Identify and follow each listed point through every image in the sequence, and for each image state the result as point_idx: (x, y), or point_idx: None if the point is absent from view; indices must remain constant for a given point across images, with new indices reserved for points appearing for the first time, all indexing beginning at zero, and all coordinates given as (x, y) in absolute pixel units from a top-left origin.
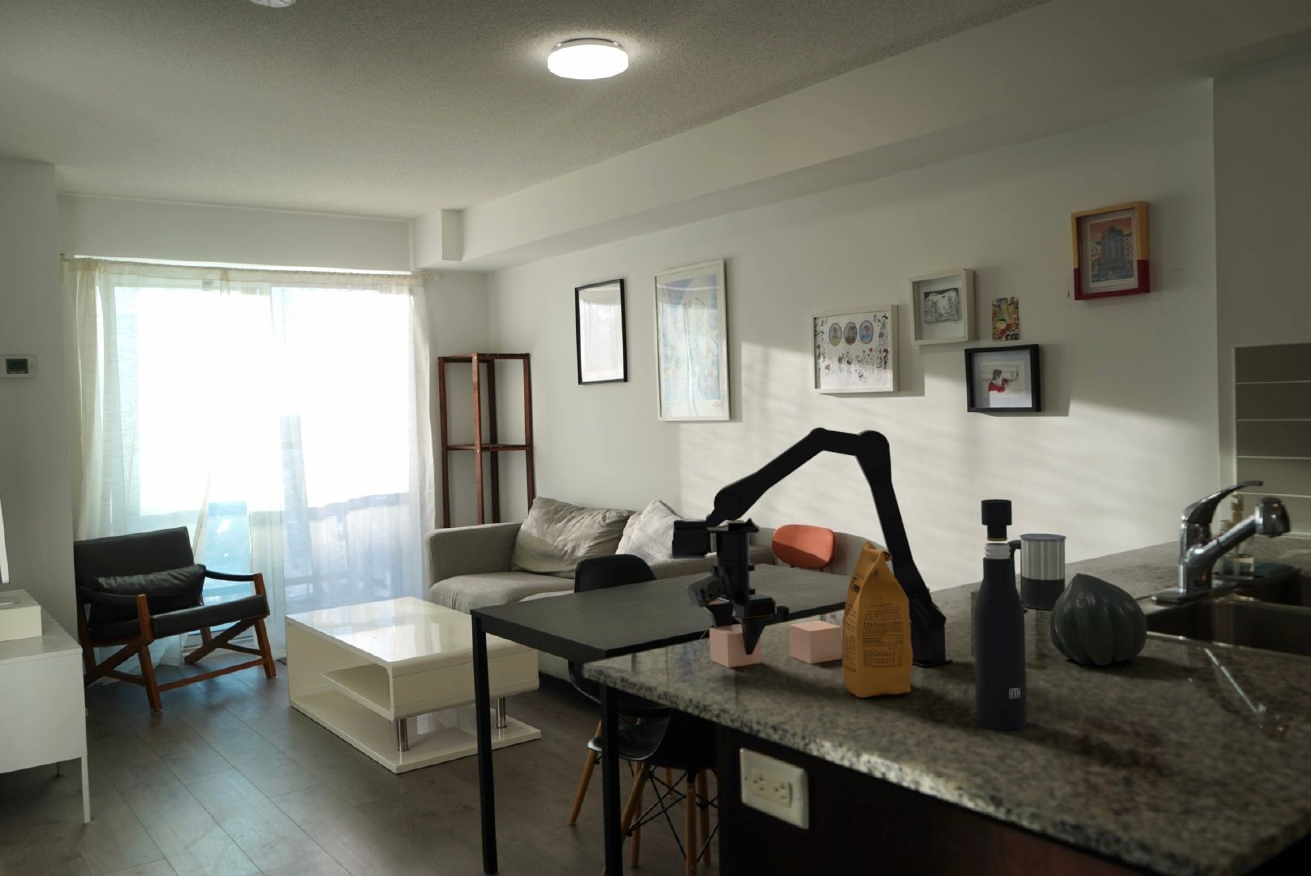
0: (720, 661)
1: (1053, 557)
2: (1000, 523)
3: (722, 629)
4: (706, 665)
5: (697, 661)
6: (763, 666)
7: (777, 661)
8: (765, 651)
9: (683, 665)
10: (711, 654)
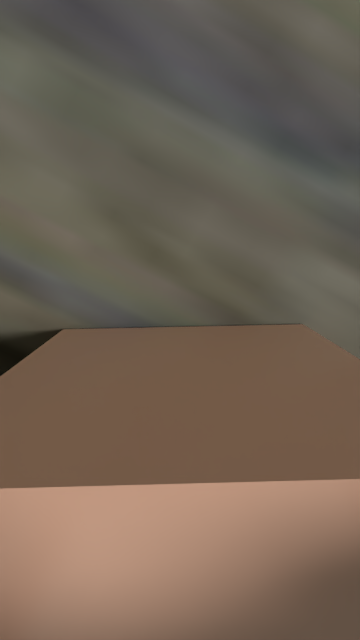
0: (163, 331)
1: None
2: None
3: (302, 593)
4: (188, 234)
5: (317, 229)
6: None
7: None
8: None
9: (278, 78)
10: (301, 335)
